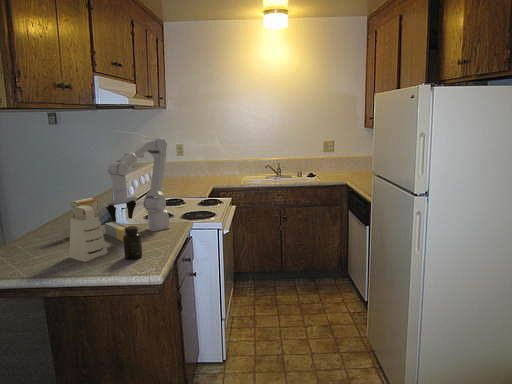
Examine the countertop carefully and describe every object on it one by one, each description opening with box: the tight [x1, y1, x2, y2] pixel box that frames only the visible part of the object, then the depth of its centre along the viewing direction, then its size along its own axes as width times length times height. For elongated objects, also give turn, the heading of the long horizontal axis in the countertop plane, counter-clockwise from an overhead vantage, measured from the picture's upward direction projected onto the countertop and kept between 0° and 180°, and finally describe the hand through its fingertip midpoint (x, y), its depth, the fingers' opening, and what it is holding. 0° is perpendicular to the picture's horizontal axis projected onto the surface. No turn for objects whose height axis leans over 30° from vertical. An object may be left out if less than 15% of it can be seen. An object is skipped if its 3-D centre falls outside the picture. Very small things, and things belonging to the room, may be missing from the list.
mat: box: [103, 233, 151, 248], centre depth 195 cm, size 13×26×1 cm, turn 42°
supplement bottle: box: [123, 225, 143, 261], centre depth 168 cm, size 7×7×12 cm
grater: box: [68, 205, 108, 263], centre depth 171 cm, size 10×10×20 cm
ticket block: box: [104, 221, 126, 239], centre depth 199 cm, size 5×12×5 cm, turn 41°
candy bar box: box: [70, 197, 100, 230], centre depth 203 cm, size 11×5×16 cm, turn 149°
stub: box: [116, 225, 129, 241], centre depth 192 cm, size 5×6×5 cm
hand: (122, 220), depth 190 cm, fingers open, 7 cm apart
